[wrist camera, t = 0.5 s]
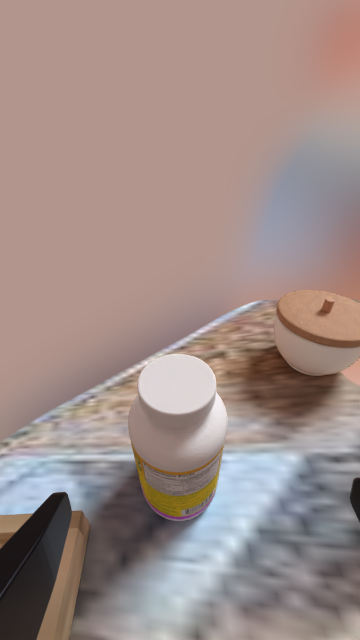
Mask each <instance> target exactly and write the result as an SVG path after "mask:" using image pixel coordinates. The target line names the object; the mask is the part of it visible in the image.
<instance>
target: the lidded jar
mask: <svg viewBox="0 0 360 640" xmlns="http://www.w3.org/2000/svg"><path fill="white" fill-rule="evenodd" d="M276 312H277V313H276V317H275V323H274V340H275V344H276V346H277V349H278V351H279V352H280V354H281V355H282V356H283V358H284V359H285V361H286V362H287V363H288V365H289V366H291V367H292V368H293V369H295V370H296V371H298V372H300V373H303V374H306V375H310V376H323V375H328V374H334V373H338V372H340V371H343V370H345V369H346V368H348V367H350V366H351V365H353V364H354V363H355V362H356V361H357V360H358V359H359V358H360V304H359V303H357V302H355V301H353V300H351V299H348V298H346V297H343V296H340V295H337V294H334V293H329V292H323V291H316V290H300V291H294V292H291V293H288V294H286V295H284V296H283V297H282V298H281V299H280V300H279V302H278V305H277V310H276Z"/></svg>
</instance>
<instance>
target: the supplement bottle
mask: <svg viewBox="0 0 360 640" xmlns="http://www.w3.org/2000/svg"><path fill="white" fill-rule="evenodd" d="M137 389H138V396H137V397H136V399H135V400H134V402H133V404H132V406H131V409H130V412H129V418H128V429H129V435H130V439H131V444H132V448H133V452H134V457H135V461H136V466H137V470H138V475H139V479H140V484H141V488H142V491H143V494H144V497H145V499H146V501H147V503H148V504H149V506H150V507H151V508H152V509H153V510H154V511H155V512H156V513H157V514H158V515H160V516H161V517H163V518H166V519H169V520H173V521H185V520H189V519H192V518H194V517H196V516H198V515H200V514H201V513H202V512H203V511H204V510H205V509H206V508H207V507H208V506H209V505H210V503H211V501H212V500H213V497H214V495H215V492H216V488H217V484H218V478H219V472H220V466H221V460H222V454H223V448H224V442H225V437H226V432H227V413H226V409H225V406H224V404H223V402H222V400H221V398H220V396H219V395H218V394H217V392H216V379H215V376H214V373H213V371H212V370H211V368H210V367H209V366H208V365H207V364H206V363H205V362H203V361H202V360H200V359H198V358H196V357H193V356H190V355H184V354H170V355H165V356H162V357H159V358H157V359H155V360H153V361H152V362H150V363H149V364H148V365H147V366H146V367H145V368H144V369H143V370H142V372H141V374H140V376H139V379H138V384H137Z"/></svg>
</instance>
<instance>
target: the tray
mask: <svg viewBox="0 0 360 640" xmlns="http://www.w3.org/2000/svg"><path fill="white" fill-rule="evenodd" d="M31 516H32V514H17V515H0V548H1V547H2V546H3V545H4V544H5V543H6V542H7V541H8V540H9V539H10V538H11V537H12V536H13V535H14V534H15V532H16V531H17V530H18V529H19V528H20V527H21V526H22V525H23V524H24V523H25V522H26V521H27V520H28V519H29V518H30V517H31ZM89 531H90V524H89V522H88V520H87V519H86V517H85V515H84V513H83V512H82V511H72V516H71V522H70V526H69V530H68V534H67V538H66V542H65V546H64V550H63V554H62V558H61V562H60V566H59V571H58V574H57V578H56V582H55V585H54V588H53V592H52V595H51V598H50V601H49V604H48V607H47V610H46V613H45V616H44V619H43V622H42V625H41V628H40V631H39V634H38V637H37V640H69V637H70V631H71V626H72V621H73V616H74V610H75V605H76V600H77V594H78V589H79V584H80V579H81V573H82V568H83V563H84V557H85V552H86V547H87V542H88V536H89Z"/></svg>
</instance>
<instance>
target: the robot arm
mask: <svg viewBox="0 0 360 640" xmlns="http://www.w3.org/2000/svg"><path fill="white" fill-rule="evenodd" d="M350 501H351V505H352V507H353V509H354V511H355V513H356V516H357V518H358V520H359V522H360V478H355V479H354V480H353V484H352V489H351V493H350ZM71 516H72V510H71V506H70V502H69V498H68V494H67V493H66V492H57V493H53V494H52V495H50V496H49V497H48V499H47V500H46V501H45V502H44V503H43V504H42V505H41V506H40V507H39V508H38V509H37V510H36V511H35V512H34V513H33V514H32V516H31V517H30V518H29V519H28V520H27V521H26V522H25V523H24V524H23V525H22V526H21V527H20V528H19V529H18V530H17V531H16V532H15V534H14V535H13V536H12V537H11V538H10V539H9V540H8V541H7V542H6V543H5V544H4V545H3V546H2V547H1V548H0V640H37V637H38V634H39V631H40V628H41V625H42V622H43V619H44V616H45V613H46V610H47V607H48V604H49V601H50V598H51V595H52V592H53V588H54V585H55V582H56V578H57V574H58V571H59V566H60V562H61V558H62V554H63V550H64V546H65V542H66V538H67V534H68V530H69V526H70V522H71Z"/></svg>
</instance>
